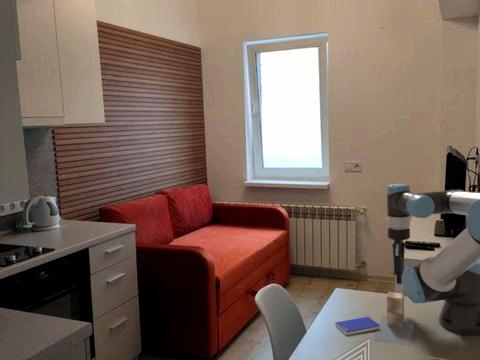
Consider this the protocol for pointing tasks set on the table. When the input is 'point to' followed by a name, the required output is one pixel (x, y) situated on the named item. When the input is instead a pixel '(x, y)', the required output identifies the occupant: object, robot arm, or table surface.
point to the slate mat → (395, 332)
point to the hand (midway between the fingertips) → (399, 291)
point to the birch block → (395, 309)
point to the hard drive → (357, 325)
